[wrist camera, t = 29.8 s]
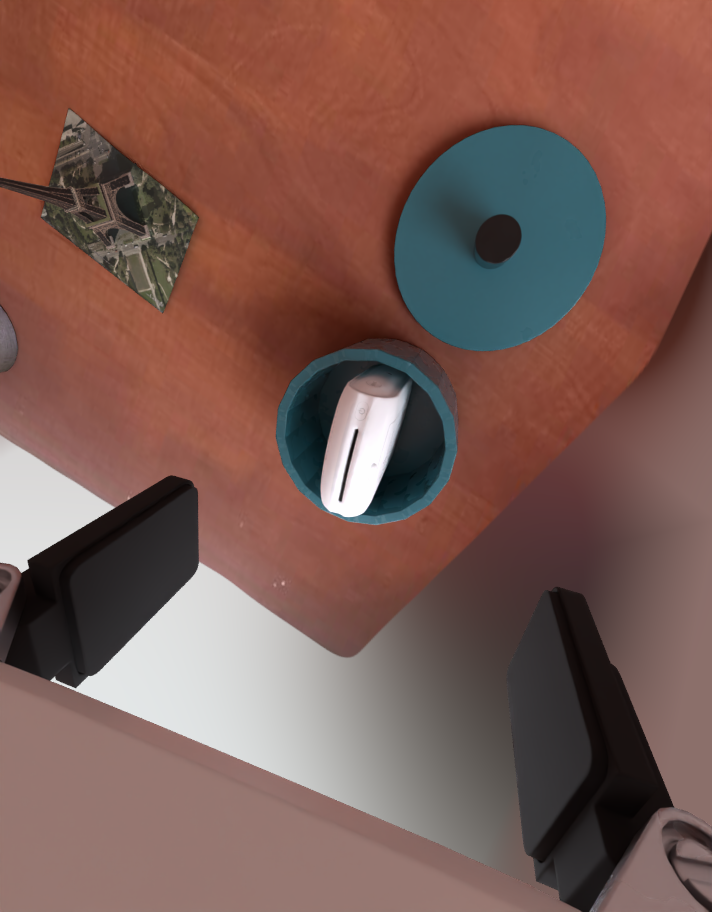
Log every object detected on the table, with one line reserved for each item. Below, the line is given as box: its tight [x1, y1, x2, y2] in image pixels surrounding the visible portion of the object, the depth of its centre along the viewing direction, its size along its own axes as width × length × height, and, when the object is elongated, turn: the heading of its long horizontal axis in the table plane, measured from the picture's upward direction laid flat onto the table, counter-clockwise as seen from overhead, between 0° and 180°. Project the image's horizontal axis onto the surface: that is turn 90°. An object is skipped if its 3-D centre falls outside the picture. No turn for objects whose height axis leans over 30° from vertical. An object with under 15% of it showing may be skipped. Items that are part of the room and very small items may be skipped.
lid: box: [394, 125, 606, 351], centre depth 28 cm, size 15×15×6 cm
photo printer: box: [321, 364, 412, 517], centre depth 31 cm, size 10×4×12 cm, turn 167°
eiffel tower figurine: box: [0, 109, 199, 313], centre depth 31 cm, size 15×10×13 cm
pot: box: [276, 339, 458, 525], centre depth 34 cm, size 14×14×8 cm
